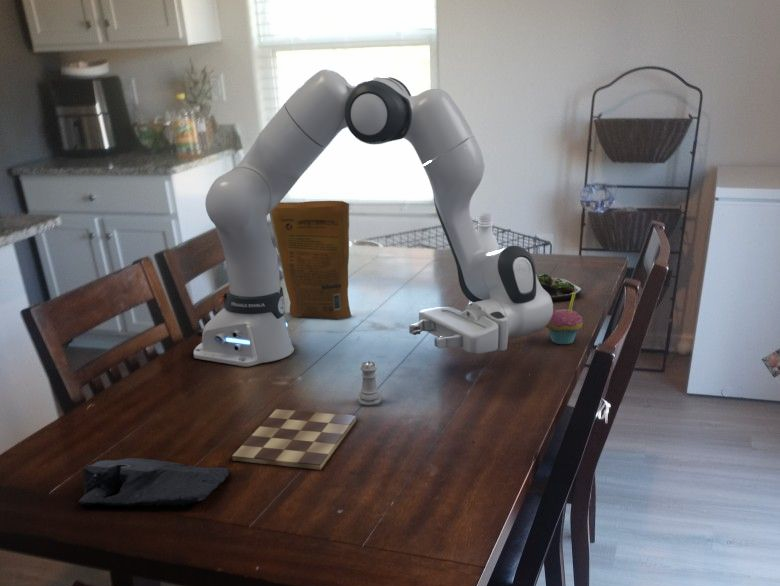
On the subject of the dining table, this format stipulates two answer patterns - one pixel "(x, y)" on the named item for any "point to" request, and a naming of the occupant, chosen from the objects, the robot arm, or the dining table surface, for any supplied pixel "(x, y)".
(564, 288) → the salad plate
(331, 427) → the chessboard
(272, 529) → the dining table surface
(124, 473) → the dark slate chunk
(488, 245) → the water bottle
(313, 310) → the pancake mix bag
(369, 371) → the rook chess piece
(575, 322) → the cupcake
